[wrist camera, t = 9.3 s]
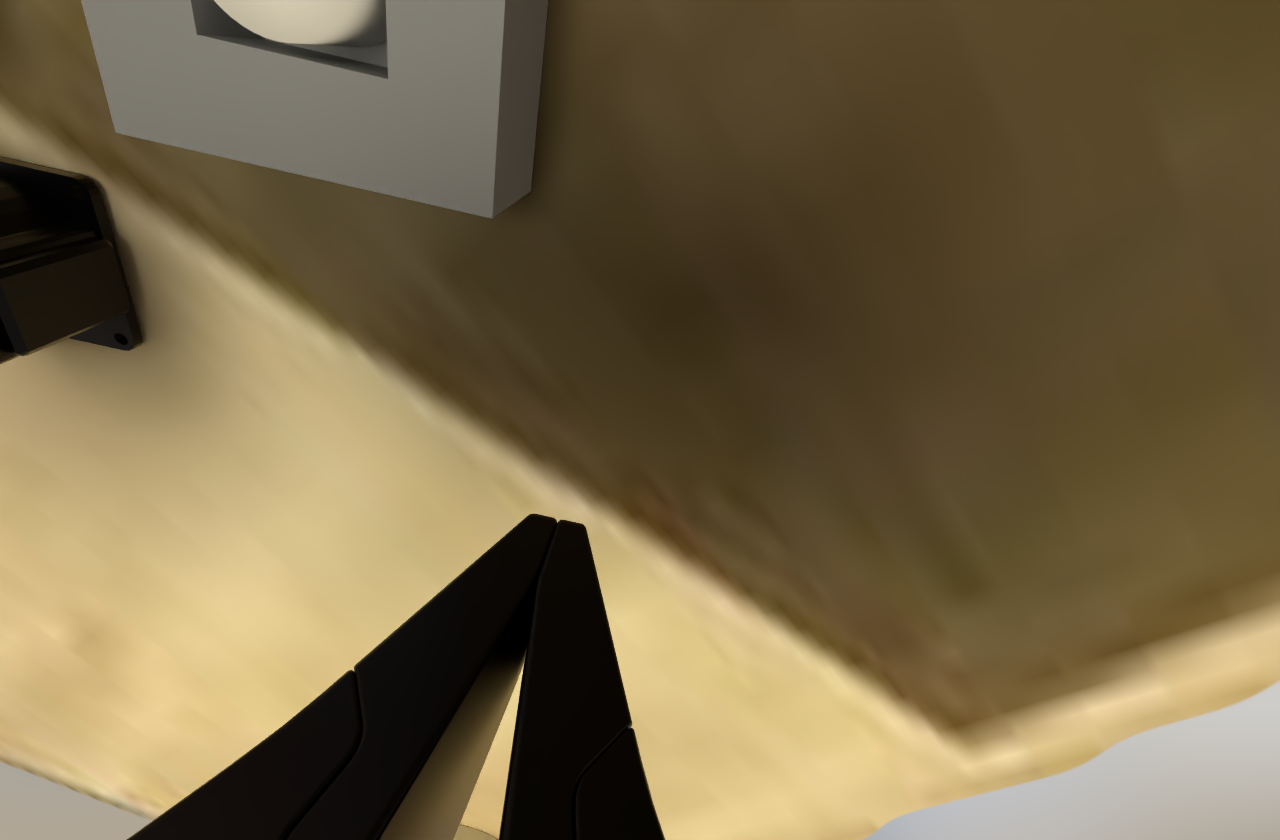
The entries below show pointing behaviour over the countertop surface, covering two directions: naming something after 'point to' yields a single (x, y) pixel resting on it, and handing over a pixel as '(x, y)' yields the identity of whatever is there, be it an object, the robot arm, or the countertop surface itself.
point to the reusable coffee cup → (471, 834)
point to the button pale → (312, 20)
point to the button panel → (339, 95)
